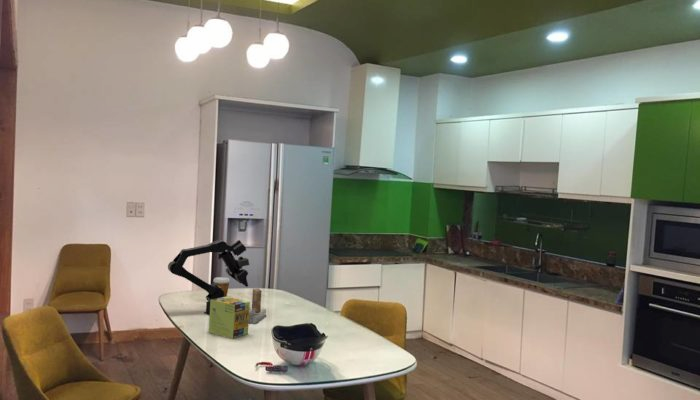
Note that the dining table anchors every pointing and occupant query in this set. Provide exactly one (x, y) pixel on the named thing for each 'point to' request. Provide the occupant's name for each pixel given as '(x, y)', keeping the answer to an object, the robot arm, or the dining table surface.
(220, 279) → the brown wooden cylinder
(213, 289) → the robot arm
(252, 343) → the dining table surface
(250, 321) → the door track
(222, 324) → the protein box
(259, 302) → the door panel
